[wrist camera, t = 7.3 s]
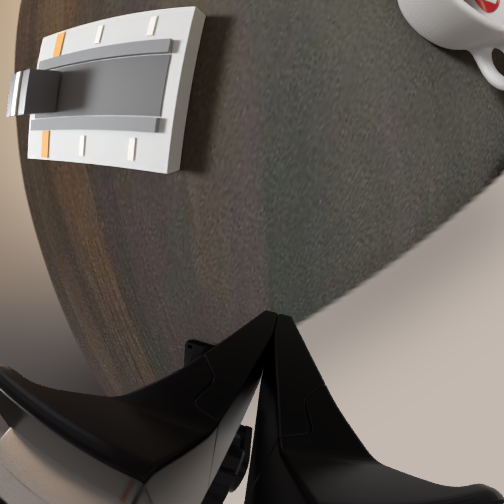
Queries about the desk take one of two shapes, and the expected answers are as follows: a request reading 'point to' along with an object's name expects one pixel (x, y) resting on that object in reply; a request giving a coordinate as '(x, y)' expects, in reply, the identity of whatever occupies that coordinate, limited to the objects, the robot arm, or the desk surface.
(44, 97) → the fader knob
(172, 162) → the console board
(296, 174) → the desk surface
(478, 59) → the cup
